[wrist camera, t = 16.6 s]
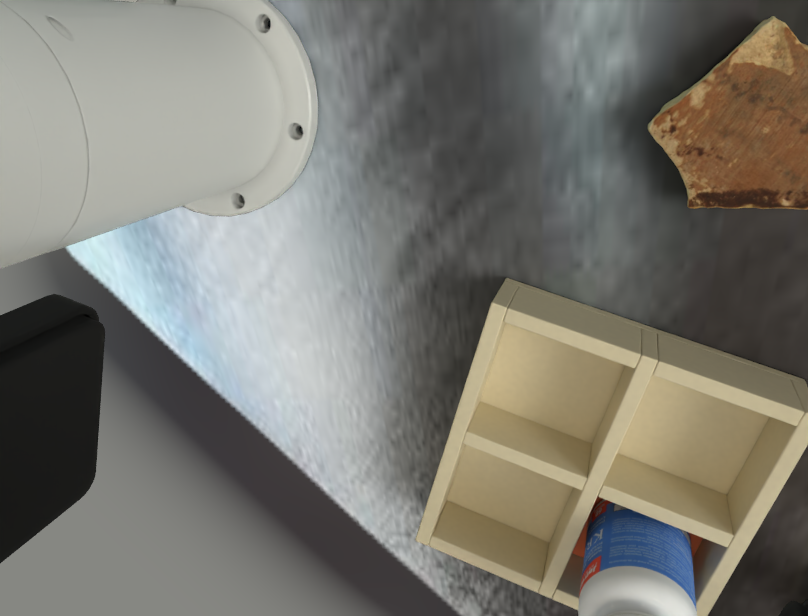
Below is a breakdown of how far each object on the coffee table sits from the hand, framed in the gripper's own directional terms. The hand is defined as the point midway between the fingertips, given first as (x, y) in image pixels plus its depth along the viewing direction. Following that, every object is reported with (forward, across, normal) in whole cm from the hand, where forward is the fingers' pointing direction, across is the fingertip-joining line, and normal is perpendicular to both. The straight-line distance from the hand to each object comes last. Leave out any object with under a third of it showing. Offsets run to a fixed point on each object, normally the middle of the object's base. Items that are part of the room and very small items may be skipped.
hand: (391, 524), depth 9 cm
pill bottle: (+28, -10, +18) cm, 34 cm away
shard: (+28, -8, -5) cm, 30 cm away
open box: (+28, -6, +14) cm, 32 cm away
